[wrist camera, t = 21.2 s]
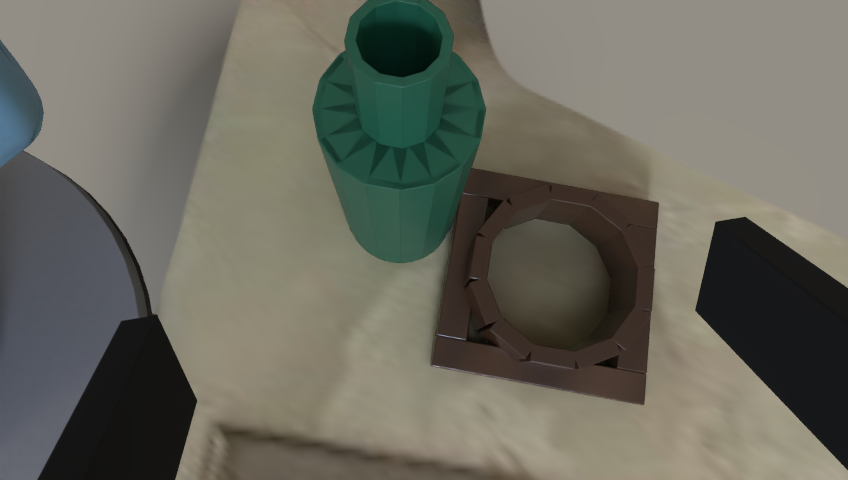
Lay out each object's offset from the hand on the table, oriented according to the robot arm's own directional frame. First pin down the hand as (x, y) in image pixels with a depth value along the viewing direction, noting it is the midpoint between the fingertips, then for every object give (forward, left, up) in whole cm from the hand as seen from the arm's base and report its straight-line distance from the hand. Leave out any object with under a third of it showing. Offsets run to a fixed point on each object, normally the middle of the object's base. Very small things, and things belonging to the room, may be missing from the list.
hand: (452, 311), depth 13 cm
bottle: (-3, +8, -20) cm, 22 cm away
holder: (+7, +5, -20) cm, 22 cm away
